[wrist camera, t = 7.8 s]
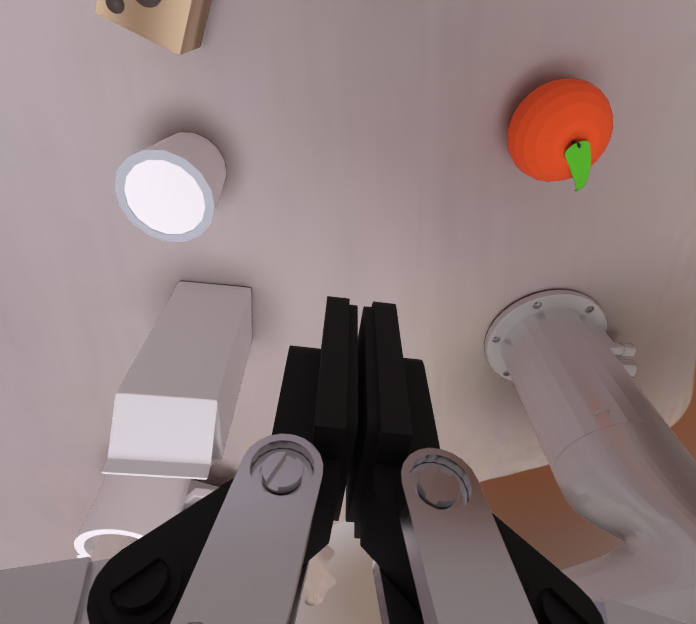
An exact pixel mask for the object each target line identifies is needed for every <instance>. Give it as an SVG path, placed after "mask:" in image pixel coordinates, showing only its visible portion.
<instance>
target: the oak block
mask: <svg viewBox="0 0 696 624" xmlns="http://www.w3.org/2000/svg"><path fill="white" fill-rule="evenodd" d="M210 4H211V0H97V4H96V12H95V13H97V14H99V15H101V16H103V17H105V18H107V19H109V20H111V21H113V22H115V23H117V24H119V25H121V26H123V27H125V28H127V29H129V30H131V31H133V32H135V33H136V34H138V35H140V36H142V37H144V38H146V39H148V40H150V41H152V42H154V43H156V44H158V45H160V46H162V47H164V48H166V49H168V50H170V51H172V52H174V53H176V54H178V55H181V54H184V53H186V52H189V51H191V50H194V49H196V48H199V47H200V45H201V41H202V37H203V33H204V29H205V25H206V21H207V17H208V13H209V8H210Z"/></svg>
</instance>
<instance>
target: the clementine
mask: <svg viewBox="0 0 696 624" xmlns="http://www.w3.org/2000/svg"><path fill="white" fill-rule="evenodd" d="M612 130H613V115H612V110H611V107H610V104H609V101H608V99H607V98H606V97H605V95H604V94H603V93H602V92H601V91H600V90H599V89H598V88H597V87H595V86H594V85H592V84H590V83H589V82H587V81H583V80H578V79H569V78H567V79H558V80H553V81H551V82H548V83H545V84H543V85H541V86H540V87H538V88H537V89H535V90H534V91H532V92H531V93H530V94H529V95H528V96H527V97H526V98H525V99H524V100H523V101H522V102H521V103H520V104H519V106H518V107H517V109H516V110H515V112H514V114H513V116H512V119H511V121H510V124H509V127H508V134H507V144H508V151H509V153H510V155H511V157H512V159H513V161H514V163H515V165H516V166H517V167H518V168H519V169H520V170H521V171H522V172H523V173H525V174H527V175H529V176H531V177H533V178H535V179H537V180H541V181H547V182H550V181H560V180H566V179H569V178H572V177H573V178H574V181H575V185H576V190H574V191H578V190H580V189H582V187H583V186H584V185H585V184H586V181H587V179H588V176H589V172H590V167H591V166H592V165H593V164H594V163H595V162H596V161H597V160H598V159H599V157H600V156H601V155H602V153H603V152H604V151H605V149H606V147H607V145H608V143H609V141H610V137H611V133H612Z"/></svg>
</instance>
